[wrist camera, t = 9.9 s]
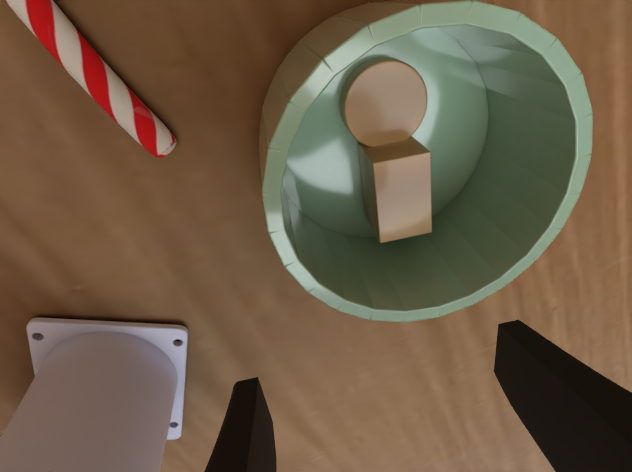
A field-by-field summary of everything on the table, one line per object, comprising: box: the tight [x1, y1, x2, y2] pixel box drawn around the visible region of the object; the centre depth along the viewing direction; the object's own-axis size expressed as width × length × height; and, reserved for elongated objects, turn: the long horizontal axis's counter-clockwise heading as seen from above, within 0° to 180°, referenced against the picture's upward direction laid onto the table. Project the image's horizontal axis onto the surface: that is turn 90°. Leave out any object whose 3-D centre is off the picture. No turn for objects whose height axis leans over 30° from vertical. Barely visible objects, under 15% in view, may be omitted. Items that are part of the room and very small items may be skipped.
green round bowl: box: [259, 0, 593, 322], centre depth 17 cm, size 11×11×6 cm
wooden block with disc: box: [340, 57, 432, 243], centre depth 18 cm, size 7×4×3 cm, turn 9°
